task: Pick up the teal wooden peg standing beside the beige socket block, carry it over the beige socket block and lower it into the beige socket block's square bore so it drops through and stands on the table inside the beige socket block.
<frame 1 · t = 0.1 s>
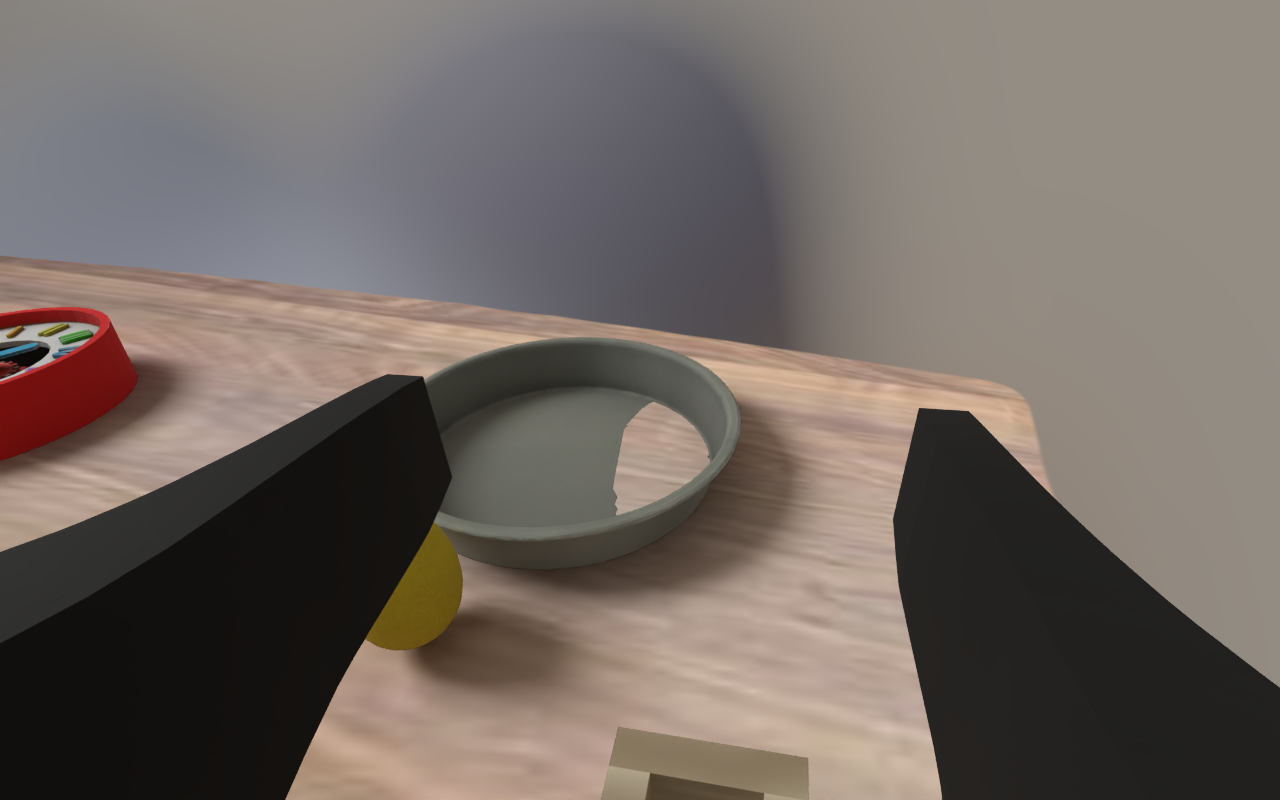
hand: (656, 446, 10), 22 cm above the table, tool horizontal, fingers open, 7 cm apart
cake pan: (566, 466, 46), on the table
toy clock: (2, 416, 56), on the table
lemon: (420, 640, 33), on the table
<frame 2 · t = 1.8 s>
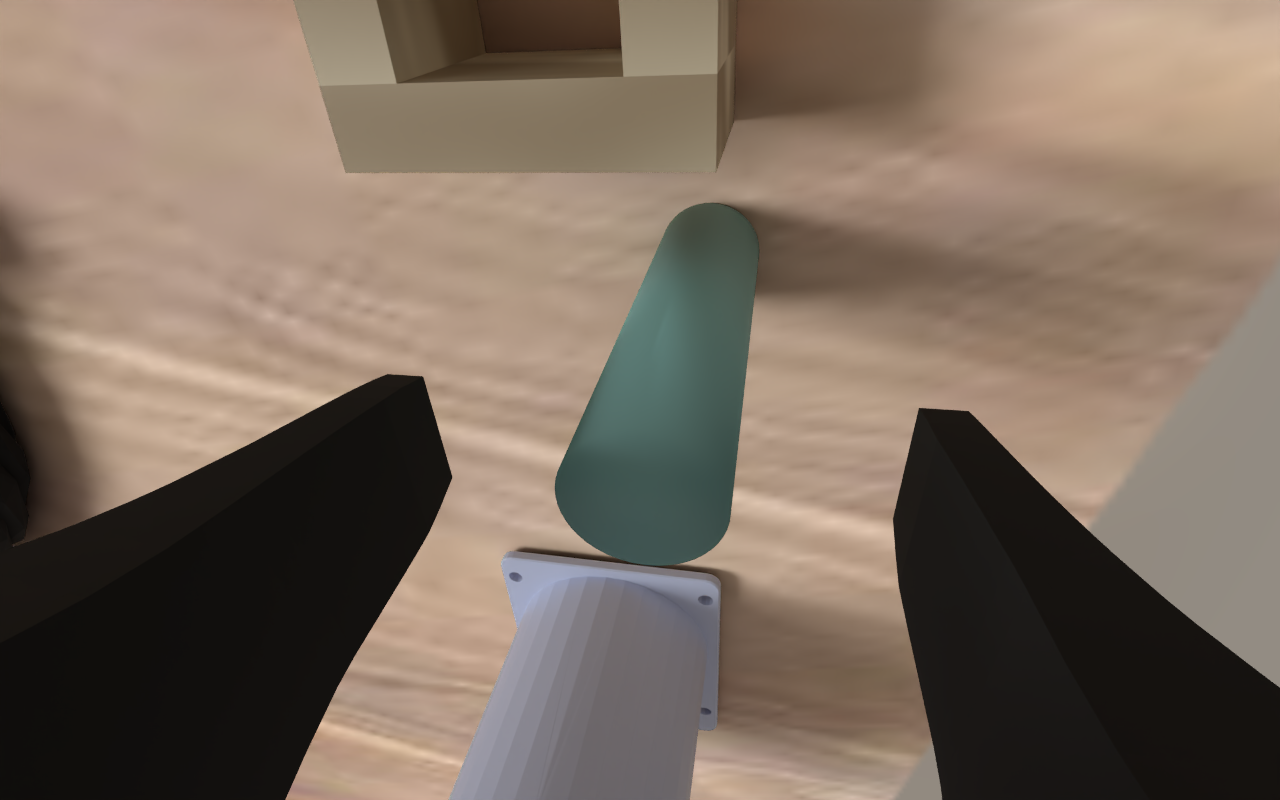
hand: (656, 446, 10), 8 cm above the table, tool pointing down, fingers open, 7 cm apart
peg: (709, 251, 16), on the table
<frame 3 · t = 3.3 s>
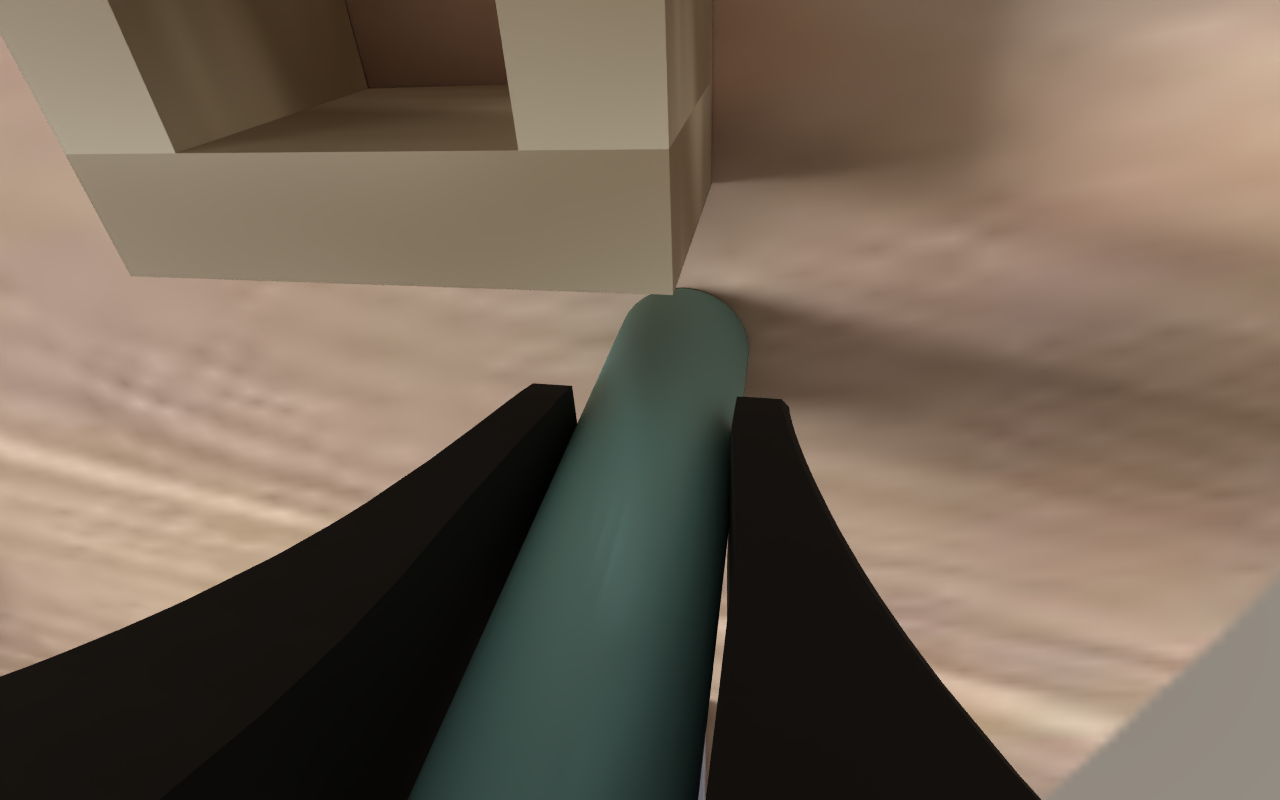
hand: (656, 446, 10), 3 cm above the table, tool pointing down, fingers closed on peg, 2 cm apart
peg: (683, 347, 12), on the table, touching gripper
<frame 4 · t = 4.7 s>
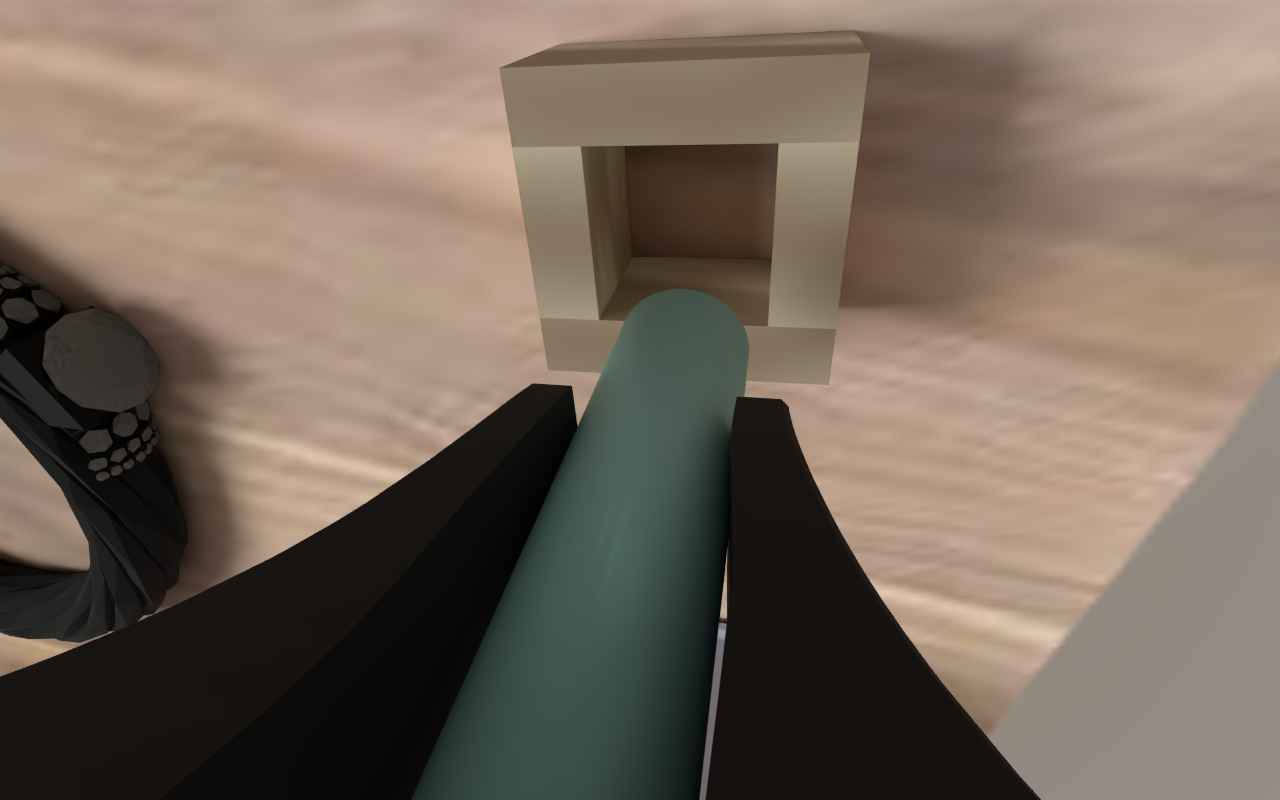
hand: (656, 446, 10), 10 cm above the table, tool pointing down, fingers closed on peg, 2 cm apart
peg: (683, 348, 12), point 7 cm above the table, touching gripper
beige socket block: (700, 186, 17), on the table
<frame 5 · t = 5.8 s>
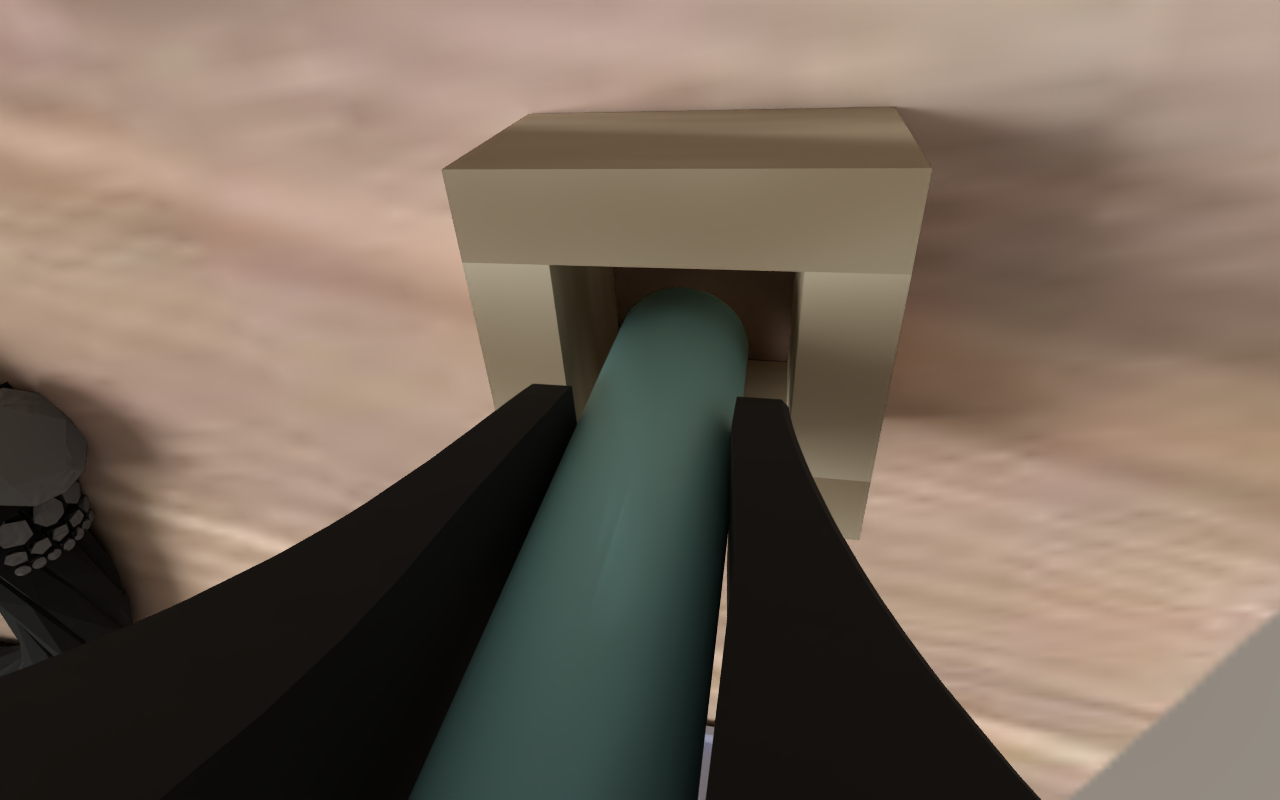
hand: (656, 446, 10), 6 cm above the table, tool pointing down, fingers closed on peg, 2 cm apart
peg: (683, 347, 12), point 3 cm above the table, touching gripper
beige socket block: (701, 280, 14), on the table
when the fingers open (6 cm above the table, at t = 6.4 s): peg drops 3 cm, resting in beige socket block.
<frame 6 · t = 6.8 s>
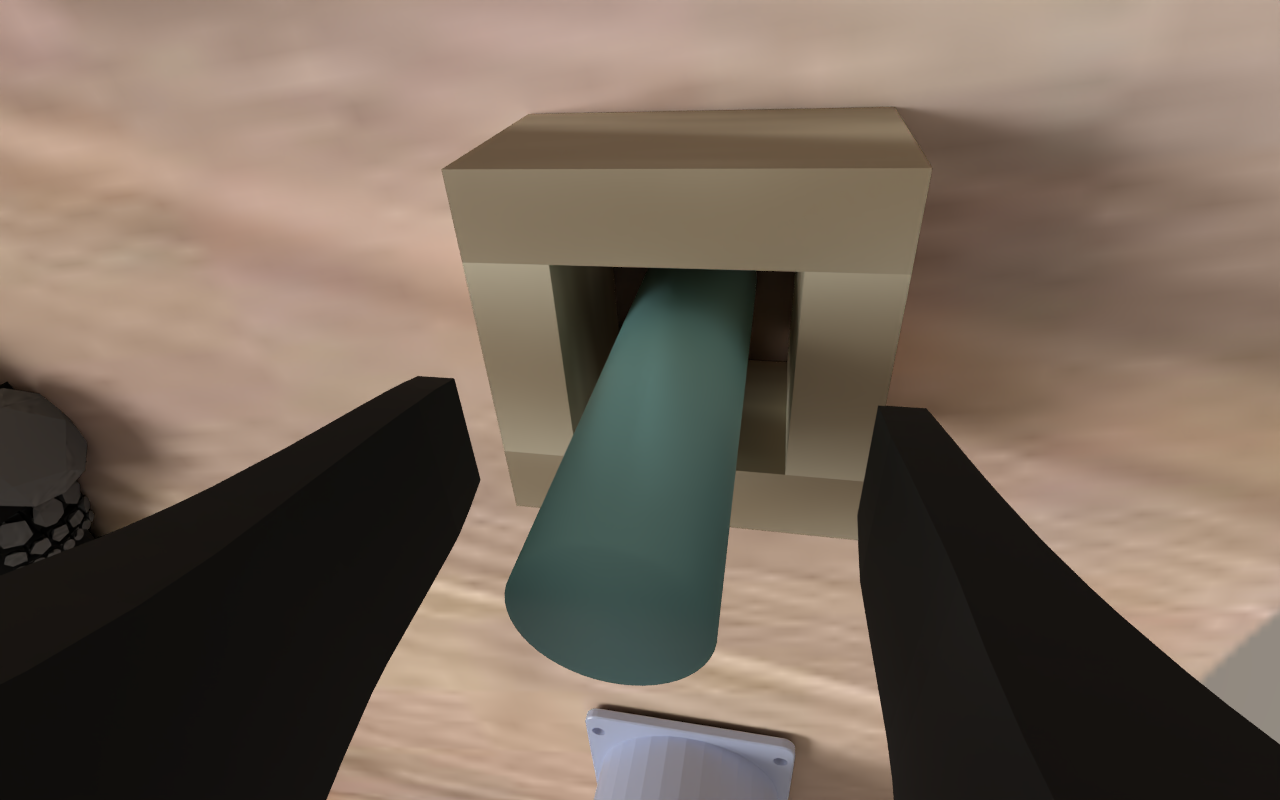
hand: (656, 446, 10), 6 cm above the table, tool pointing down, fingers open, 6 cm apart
peg: (702, 280, 14), resting in beige socket block
beige socket block: (701, 280, 14), on the table
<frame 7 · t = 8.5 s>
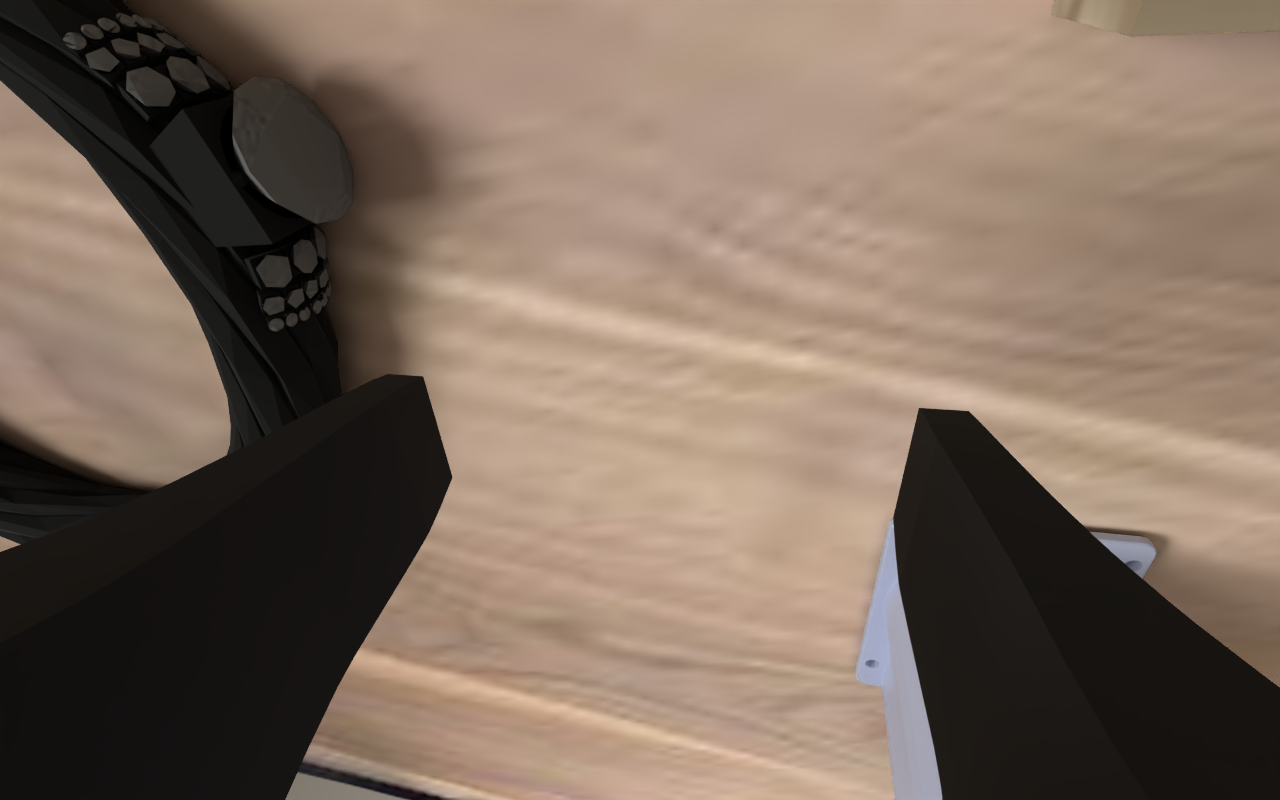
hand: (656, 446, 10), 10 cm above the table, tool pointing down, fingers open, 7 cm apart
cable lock: (42, 259, 24), on the table
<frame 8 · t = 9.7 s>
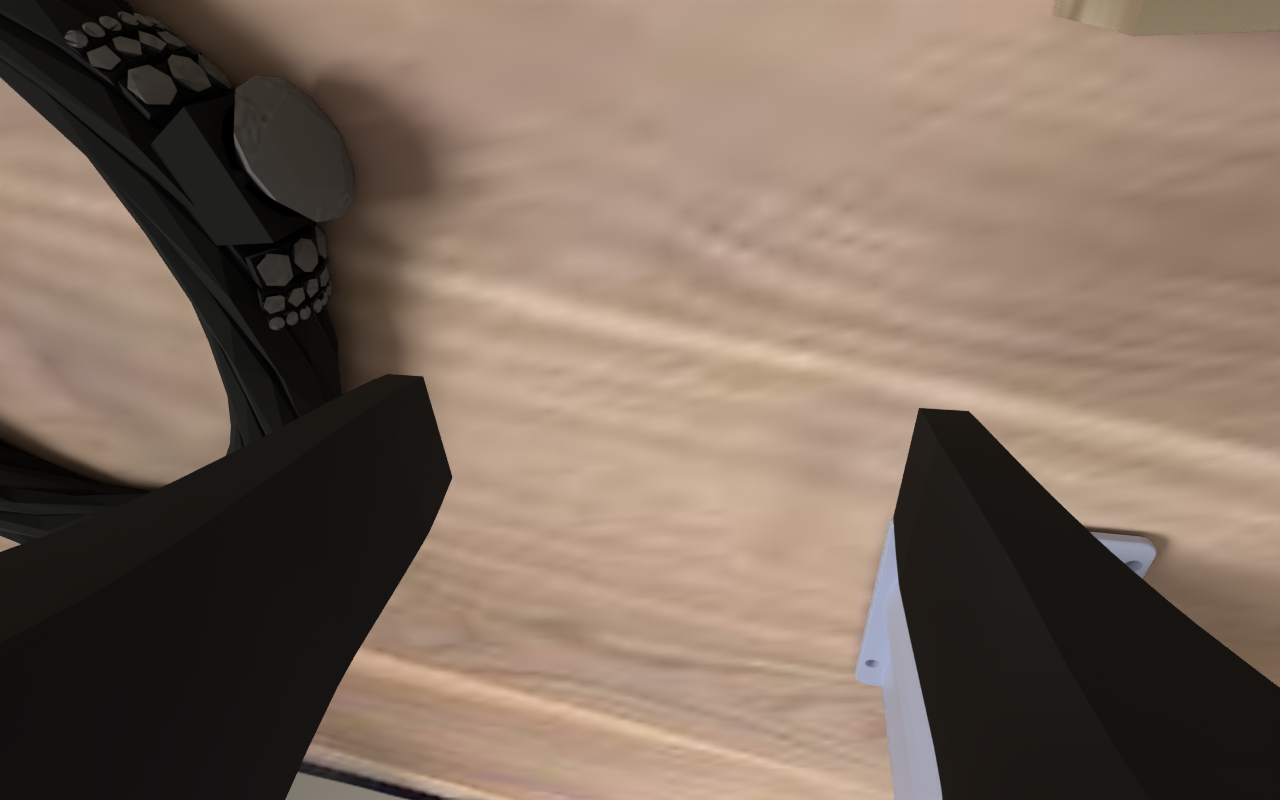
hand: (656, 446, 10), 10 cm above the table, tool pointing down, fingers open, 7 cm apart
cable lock: (42, 258, 24), on the table
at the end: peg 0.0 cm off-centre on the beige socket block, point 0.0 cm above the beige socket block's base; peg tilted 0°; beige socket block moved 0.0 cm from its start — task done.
